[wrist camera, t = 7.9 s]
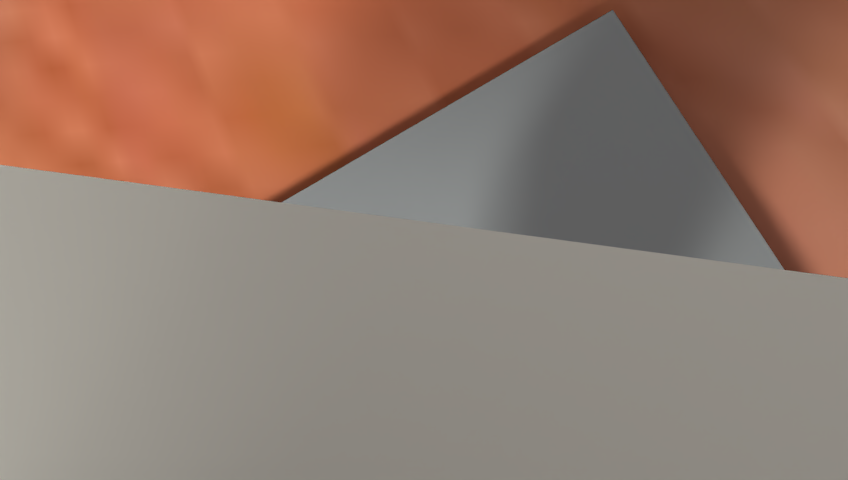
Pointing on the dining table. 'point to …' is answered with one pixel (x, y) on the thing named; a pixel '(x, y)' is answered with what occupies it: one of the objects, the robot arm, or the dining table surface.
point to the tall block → (392, 348)
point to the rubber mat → (559, 160)
